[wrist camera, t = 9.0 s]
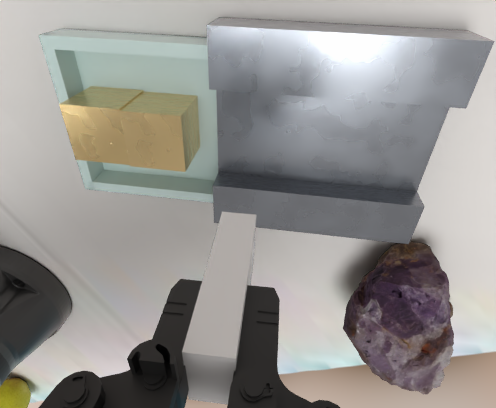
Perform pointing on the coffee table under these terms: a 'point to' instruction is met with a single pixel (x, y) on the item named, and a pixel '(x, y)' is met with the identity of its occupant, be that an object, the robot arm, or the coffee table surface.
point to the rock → (403, 318)
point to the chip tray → (150, 80)
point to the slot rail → (333, 120)
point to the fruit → (14, 394)
